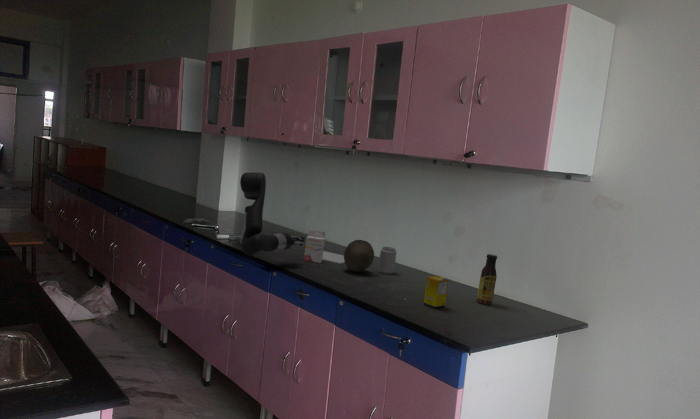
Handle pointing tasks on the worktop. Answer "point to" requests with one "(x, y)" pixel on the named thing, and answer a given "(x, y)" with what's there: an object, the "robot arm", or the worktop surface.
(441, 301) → the supplement box
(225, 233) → the worktop surface
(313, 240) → the ink cartridge box
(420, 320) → the worktop surface
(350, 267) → the cantaloupe
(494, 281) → the sauce bottle
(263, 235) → the robot arm
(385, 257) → the can
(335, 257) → the mat
